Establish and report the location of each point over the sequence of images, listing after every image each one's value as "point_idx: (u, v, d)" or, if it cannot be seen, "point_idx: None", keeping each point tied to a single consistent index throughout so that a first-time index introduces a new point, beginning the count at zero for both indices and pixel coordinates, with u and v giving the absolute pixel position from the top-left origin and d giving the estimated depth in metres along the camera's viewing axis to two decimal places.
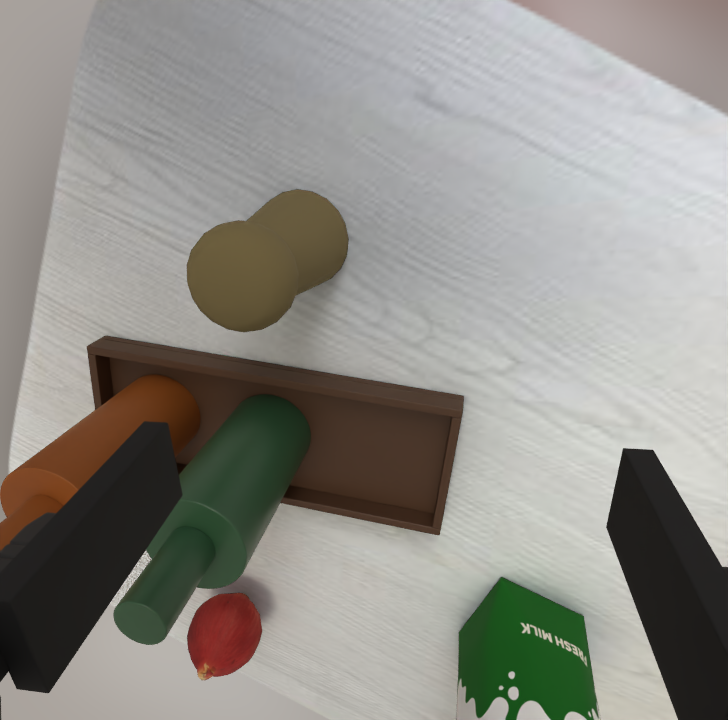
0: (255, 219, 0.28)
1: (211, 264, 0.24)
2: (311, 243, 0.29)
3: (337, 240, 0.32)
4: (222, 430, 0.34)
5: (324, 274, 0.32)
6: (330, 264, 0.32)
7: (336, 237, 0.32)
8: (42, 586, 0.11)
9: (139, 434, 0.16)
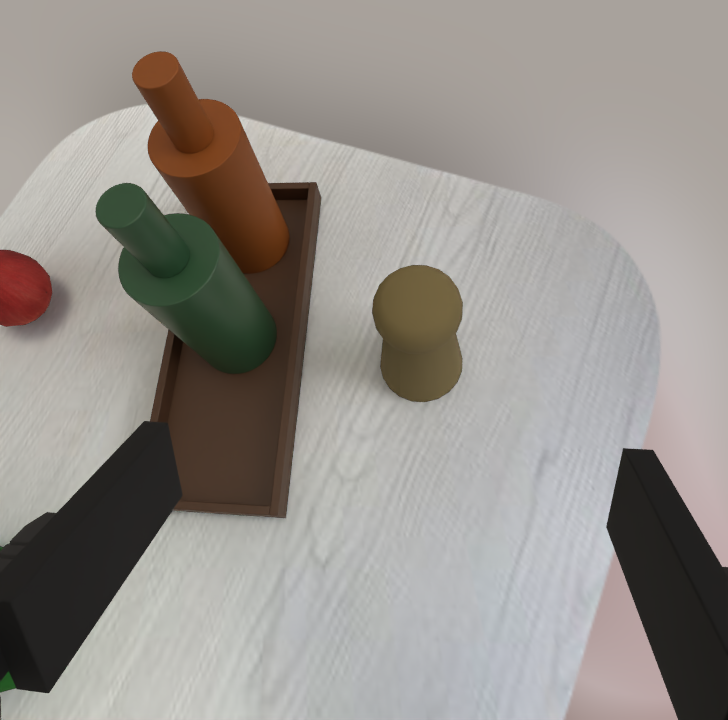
0: None
1: (433, 283, 0.30)
2: (435, 366, 0.34)
3: (428, 391, 0.38)
4: (254, 291, 0.38)
5: (401, 380, 0.37)
6: (409, 385, 0.37)
7: (430, 390, 0.37)
8: (42, 586, 0.11)
9: (139, 433, 0.16)
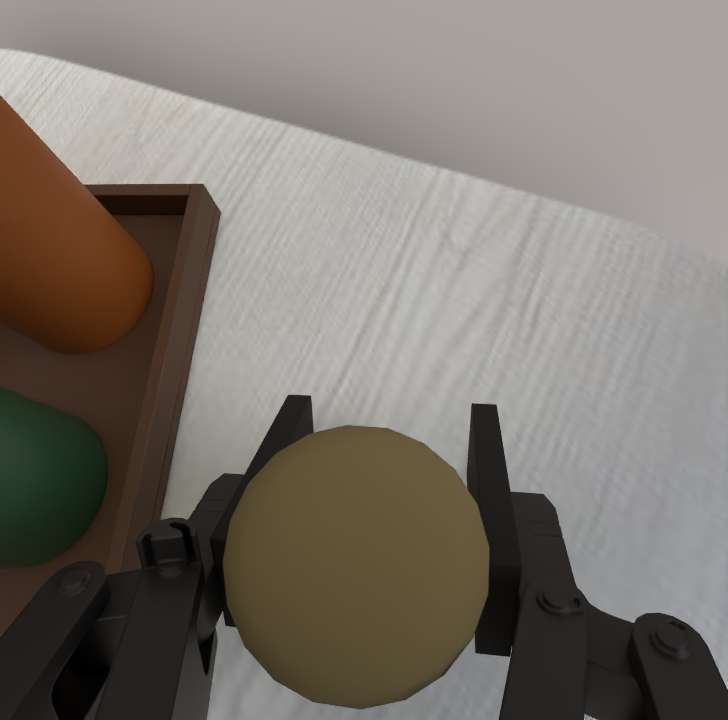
0: None
1: (400, 510, 0.09)
2: None
3: None
4: (19, 422, 0.17)
5: None
6: None
7: None
8: None
9: (289, 405, 0.17)
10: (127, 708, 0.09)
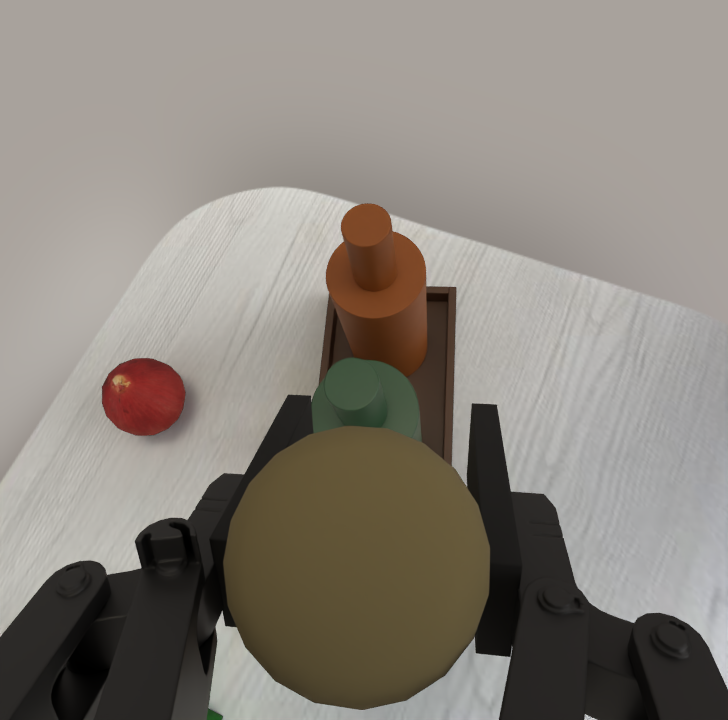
0: None
1: (401, 511, 0.09)
2: None
3: None
4: None
5: None
6: None
7: None
8: None
9: (288, 405, 0.17)
10: (127, 708, 0.09)
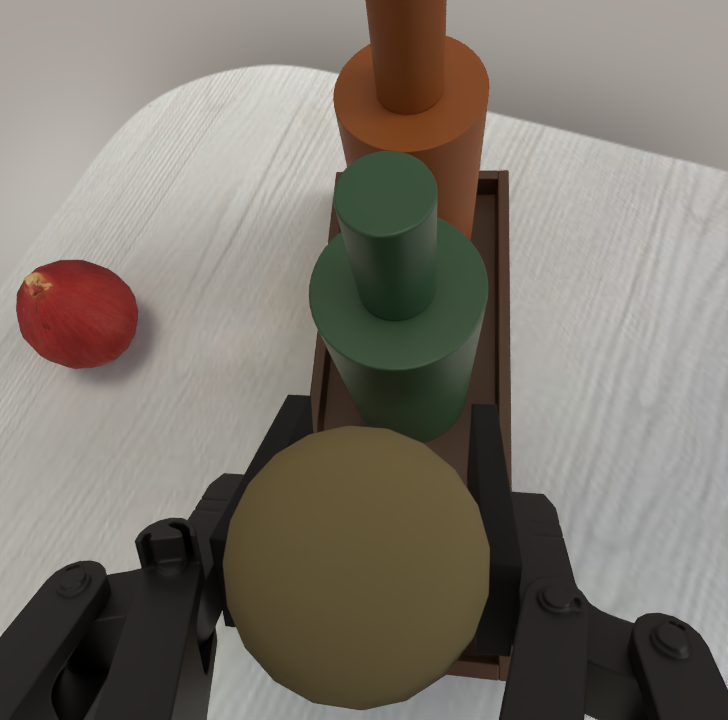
0: None
1: (400, 511, 0.09)
2: None
3: None
4: None
5: None
6: None
7: None
8: None
9: (288, 405, 0.17)
10: (126, 708, 0.09)
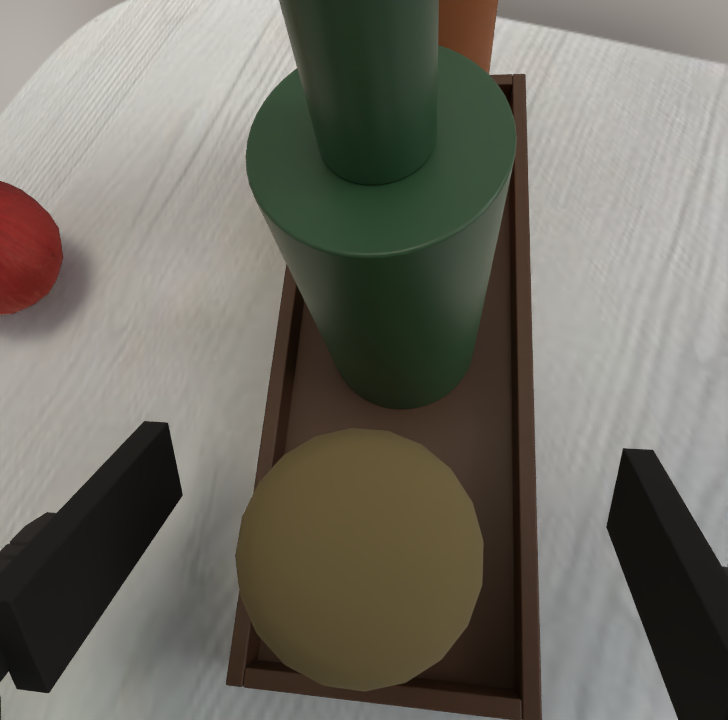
0: None
1: (401, 507, 0.10)
2: None
3: None
4: None
5: None
6: None
7: None
8: (42, 586, 0.11)
9: (139, 433, 0.16)
10: None
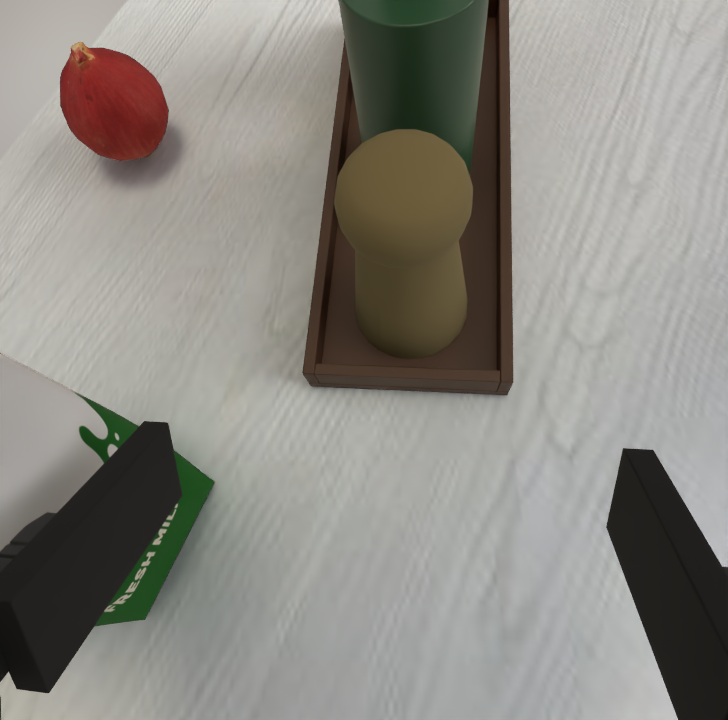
0: None
1: (428, 151, 0.19)
2: (429, 298, 0.24)
3: (419, 341, 0.27)
4: None
5: (382, 323, 0.26)
6: (393, 331, 0.26)
7: (423, 339, 0.27)
8: (42, 586, 0.11)
9: (139, 433, 0.16)
10: None
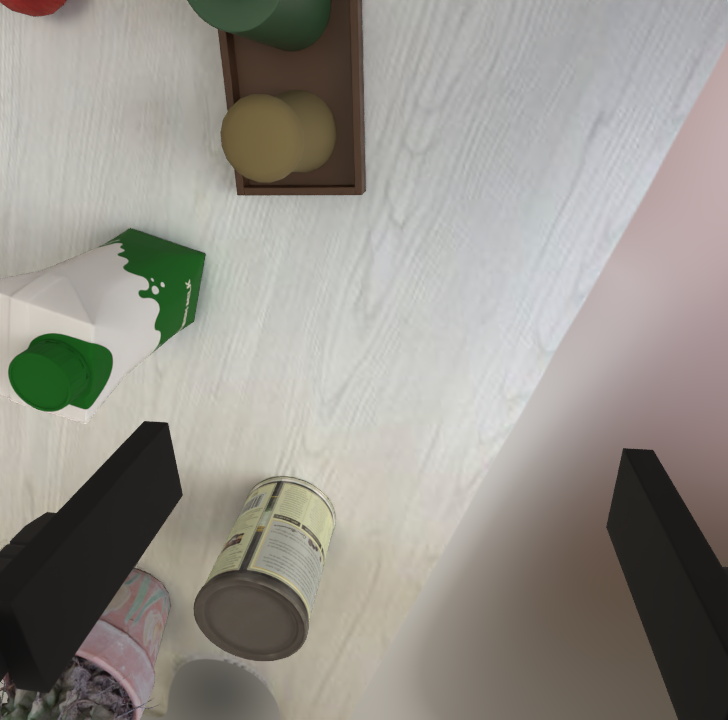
0: (306, 125, 0.37)
1: (267, 126, 0.32)
2: (298, 167, 0.39)
3: (304, 171, 0.42)
4: None
5: None
6: None
7: (305, 170, 0.42)
8: (42, 586, 0.11)
9: (139, 433, 0.16)
10: None
